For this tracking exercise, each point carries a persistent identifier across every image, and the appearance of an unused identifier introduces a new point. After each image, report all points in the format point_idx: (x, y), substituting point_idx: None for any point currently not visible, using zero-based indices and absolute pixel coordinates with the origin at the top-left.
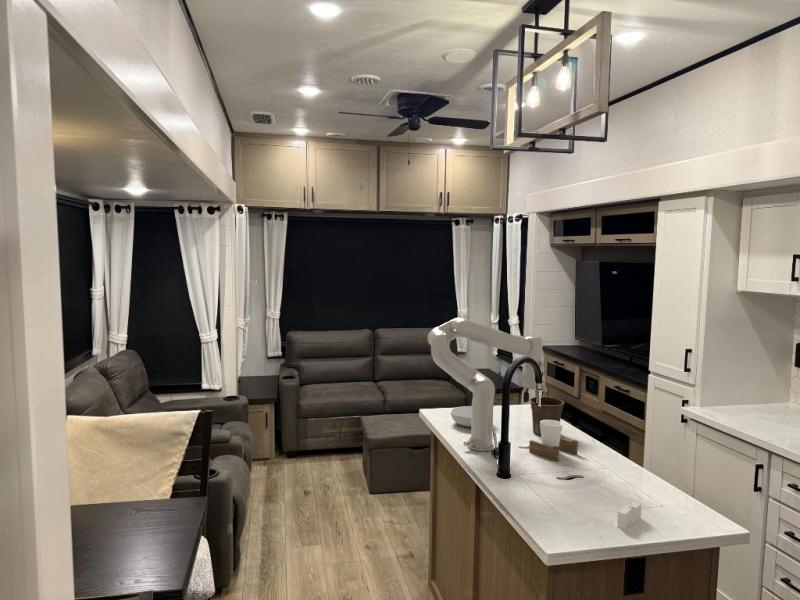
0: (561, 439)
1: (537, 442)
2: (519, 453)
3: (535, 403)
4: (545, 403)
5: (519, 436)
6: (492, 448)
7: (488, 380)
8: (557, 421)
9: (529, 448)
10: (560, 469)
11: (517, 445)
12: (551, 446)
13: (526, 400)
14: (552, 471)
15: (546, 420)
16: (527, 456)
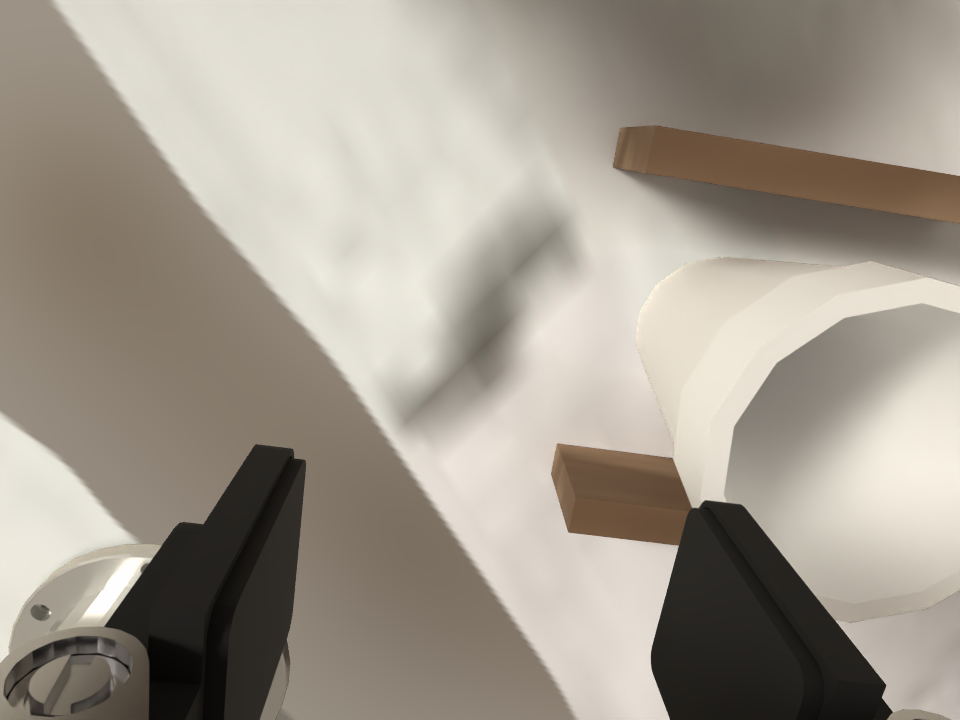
0: (838, 203)
1: (660, 519)
2: (501, 561)
3: (667, 695)
4: None
5: (184, 89)
6: (287, 681)
7: None
8: (952, 308)
9: (558, 491)
10: (926, 632)
11: (362, 390)
12: (783, 428)
13: (287, 590)
14: (887, 702)
15: (762, 382)
16: (592, 574)
